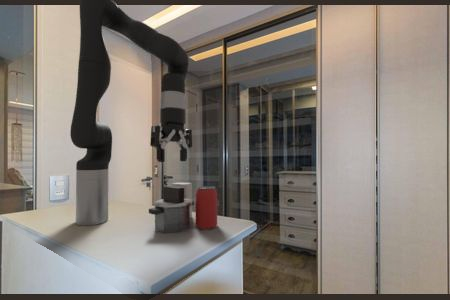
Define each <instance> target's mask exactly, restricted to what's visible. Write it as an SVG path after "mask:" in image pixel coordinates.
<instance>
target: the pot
mask: <svg viewBox="0 0 450 300" xmlns="http://www.w3.org/2000/svg"><path fill="white" fill-rule="evenodd" d="M194 205H195V201H194V200H192V205H190V206H192V207H193V206H194ZM190 206H187V207H182V208H172V209H165V208H157V207H155V206H154V207H151V208H148V214H151V215H154V231H156V232H159V233H162V234H173V233H174V234H175V233H177V234H179V233H181V232H185V231H186V230H187V231H188V230H190V229H191V228H190V226H191V217H190Z"/></svg>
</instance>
